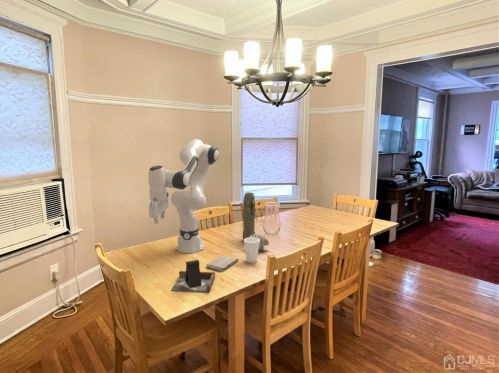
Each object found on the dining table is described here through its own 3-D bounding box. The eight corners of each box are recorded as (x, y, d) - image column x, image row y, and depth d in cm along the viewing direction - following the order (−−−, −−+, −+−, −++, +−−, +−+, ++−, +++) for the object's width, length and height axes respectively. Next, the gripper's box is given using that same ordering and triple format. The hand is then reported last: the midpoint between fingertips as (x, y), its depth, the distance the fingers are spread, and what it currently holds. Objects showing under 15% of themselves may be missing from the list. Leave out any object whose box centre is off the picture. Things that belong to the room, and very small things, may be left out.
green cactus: (250, 244, 219) (250, 195, 213) (238, 240, 228) (238, 192, 222) (259, 241, 225) (259, 193, 219) (247, 237, 234) (248, 191, 228)
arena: (179, 277, 170) (179, 271, 169) (214, 278, 168) (214, 272, 168) (171, 291, 155) (170, 284, 154) (209, 292, 154) (209, 285, 153)
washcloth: (205, 268, 181) (205, 263, 181) (222, 258, 197) (222, 253, 196) (222, 273, 176) (222, 268, 175) (238, 262, 191) (238, 257, 191)
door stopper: (184, 280, 164) (184, 258, 162) (196, 278, 166) (195, 256, 164) (190, 288, 156) (189, 265, 154) (201, 285, 159) (201, 263, 157)
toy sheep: (269, 253, 205) (270, 236, 203) (243, 253, 203) (243, 237, 201) (267, 247, 215) (267, 231, 213) (242, 247, 214) (242, 231, 212)
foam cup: (248, 256, 199) (248, 236, 197) (261, 258, 195) (262, 238, 193) (241, 261, 191) (241, 241, 188) (255, 264, 187) (255, 243, 184)
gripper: (157, 200, 161) (158, 226, 163) (169, 192, 181) (171, 215, 183) (144, 200, 161) (146, 226, 163) (158, 192, 181) (160, 215, 184)
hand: (159, 220), depth 173 cm, fingers open, 8 cm apart
